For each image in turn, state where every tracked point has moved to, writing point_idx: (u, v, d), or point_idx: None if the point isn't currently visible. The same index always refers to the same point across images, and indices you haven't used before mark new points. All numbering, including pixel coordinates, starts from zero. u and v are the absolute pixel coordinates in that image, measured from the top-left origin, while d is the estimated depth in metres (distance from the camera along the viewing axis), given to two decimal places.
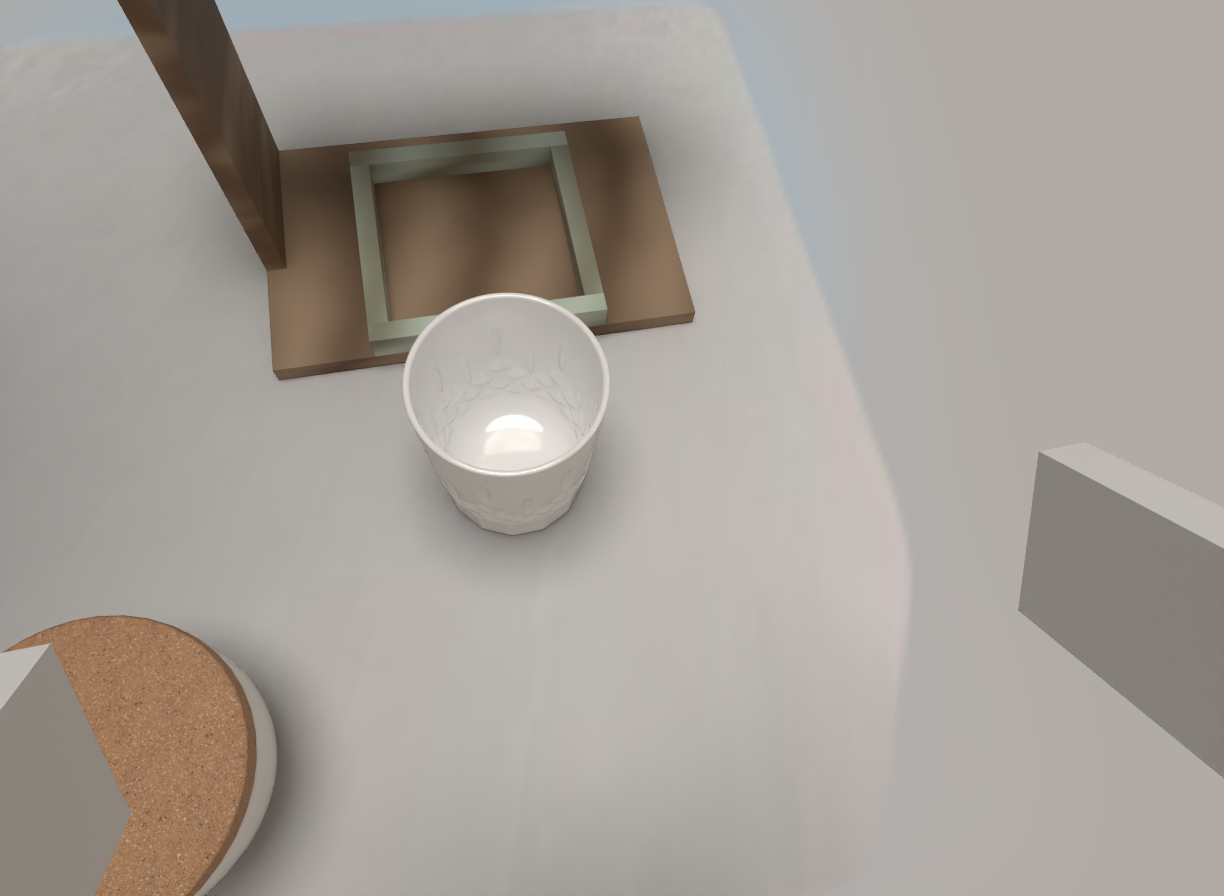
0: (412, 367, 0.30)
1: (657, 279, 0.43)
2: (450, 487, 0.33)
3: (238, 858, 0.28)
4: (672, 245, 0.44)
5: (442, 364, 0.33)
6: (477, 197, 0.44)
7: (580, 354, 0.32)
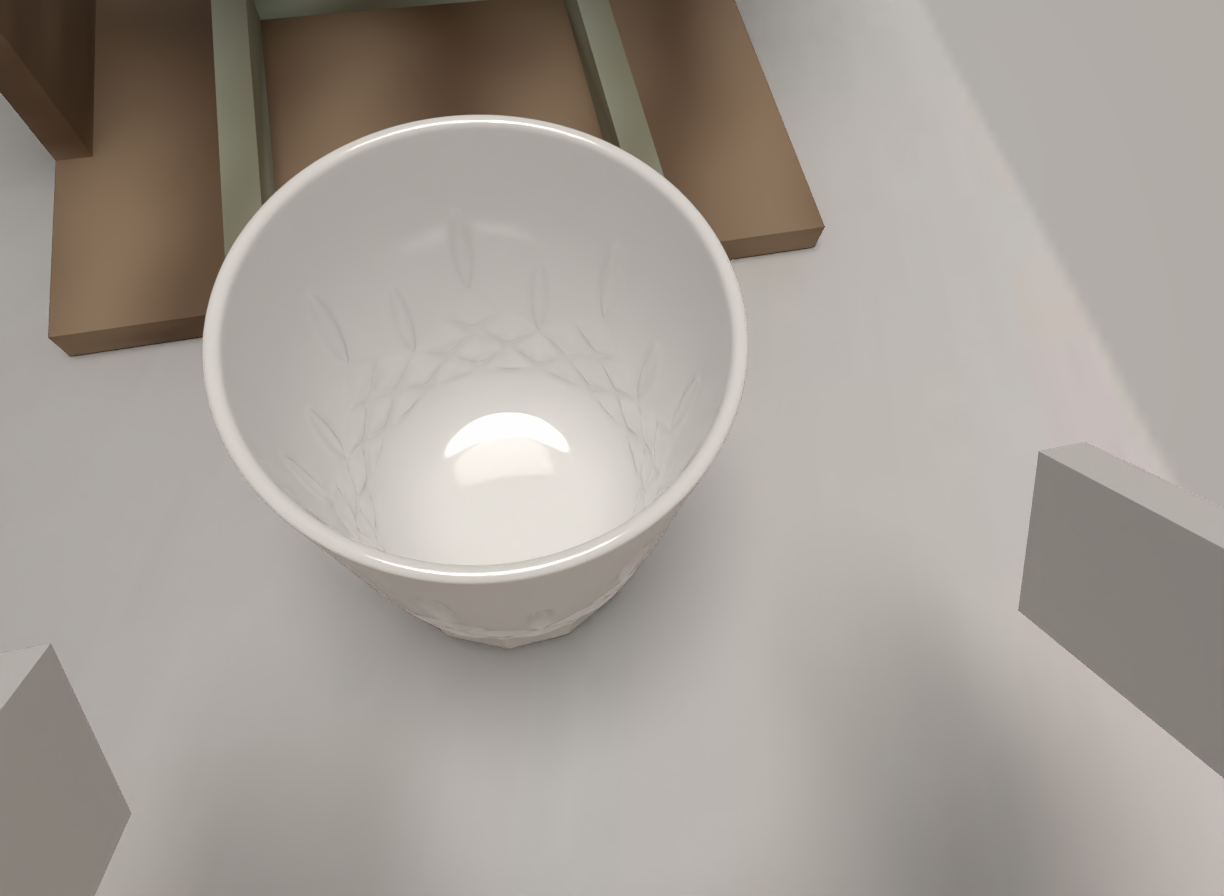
0: (237, 290, 0.11)
1: (754, 172, 0.24)
2: None
3: None
4: (775, 118, 0.25)
5: (339, 298, 0.14)
6: (439, 42, 0.25)
7: (656, 268, 0.14)
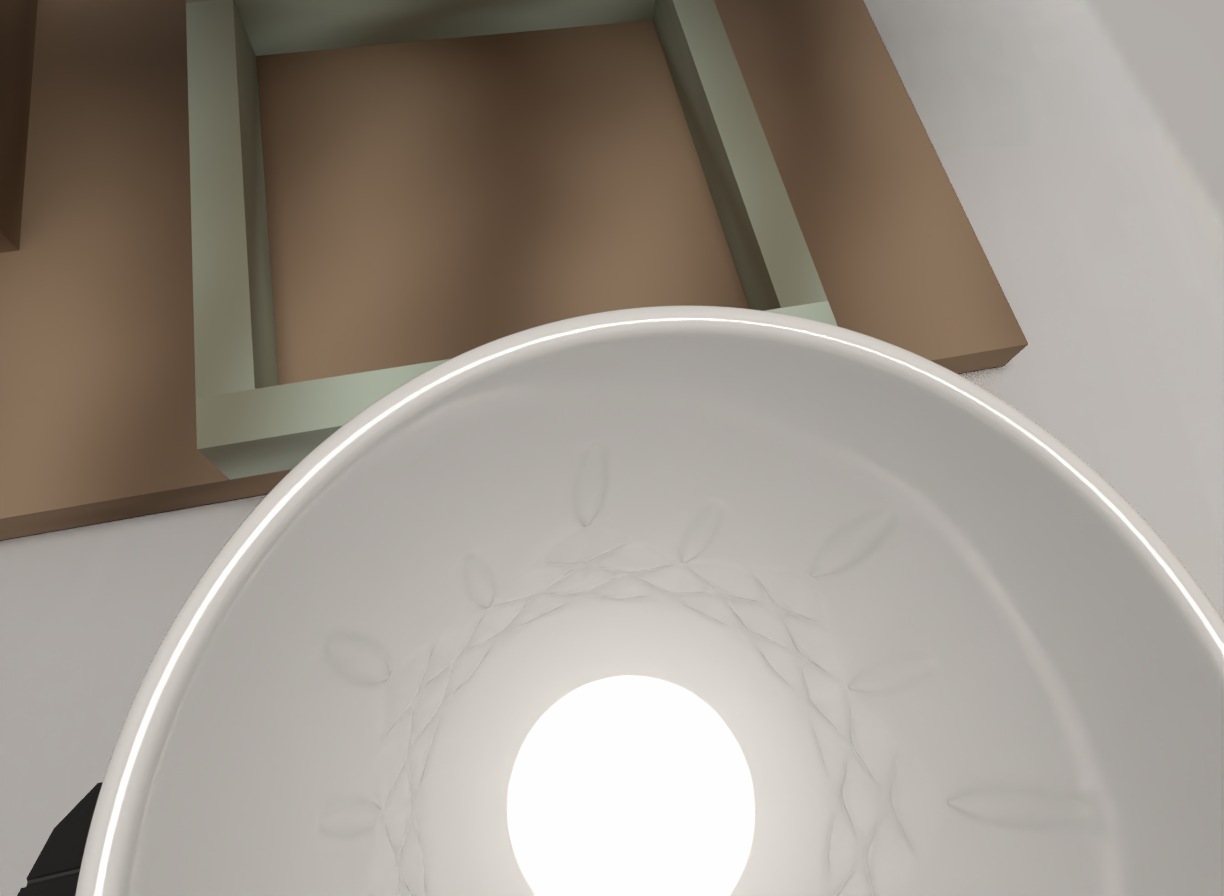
0: (164, 766, 0.05)
1: (925, 266, 0.18)
2: None
3: None
4: (945, 188, 0.19)
5: (380, 609, 0.08)
6: (494, 86, 0.19)
7: (980, 570, 0.07)
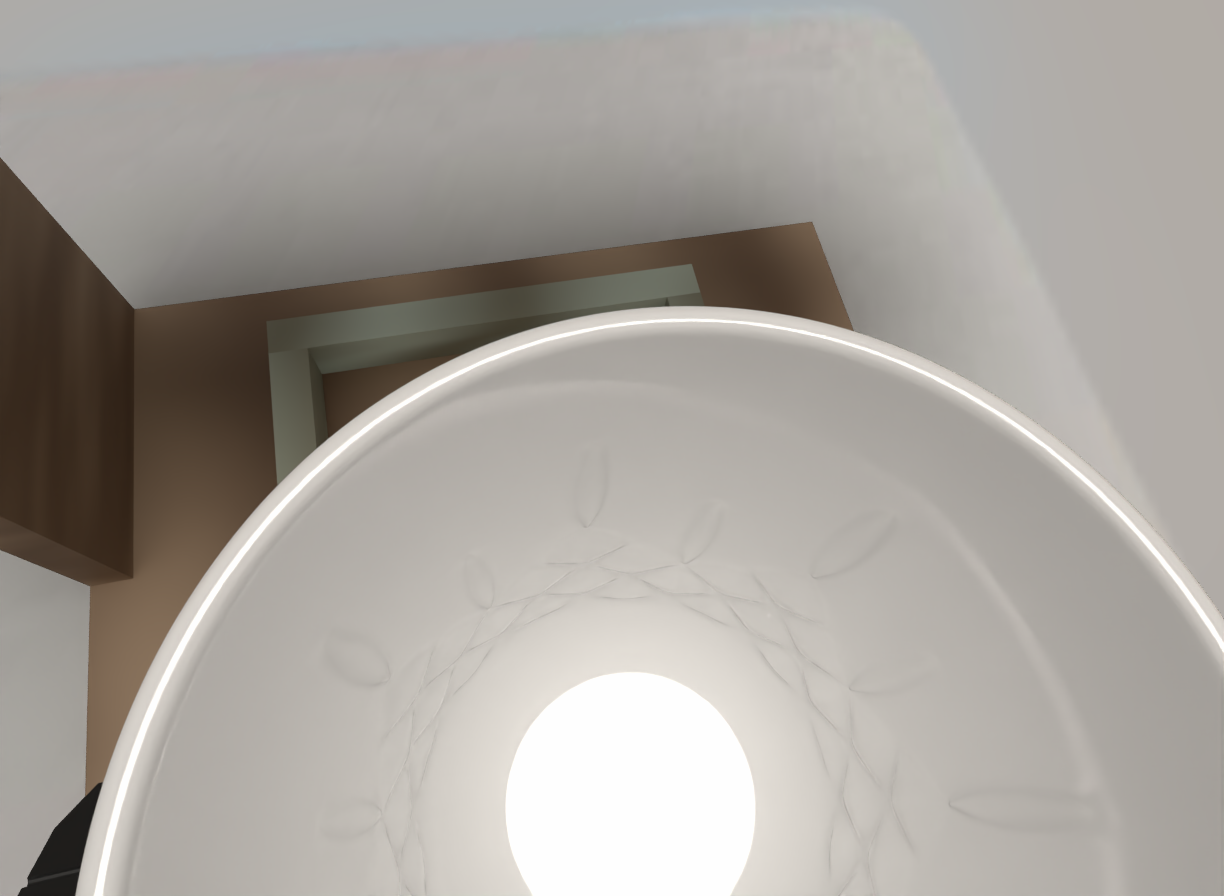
0: (163, 768, 0.05)
1: None
2: None
3: None
4: None
5: (381, 611, 0.08)
6: None
7: (981, 571, 0.07)
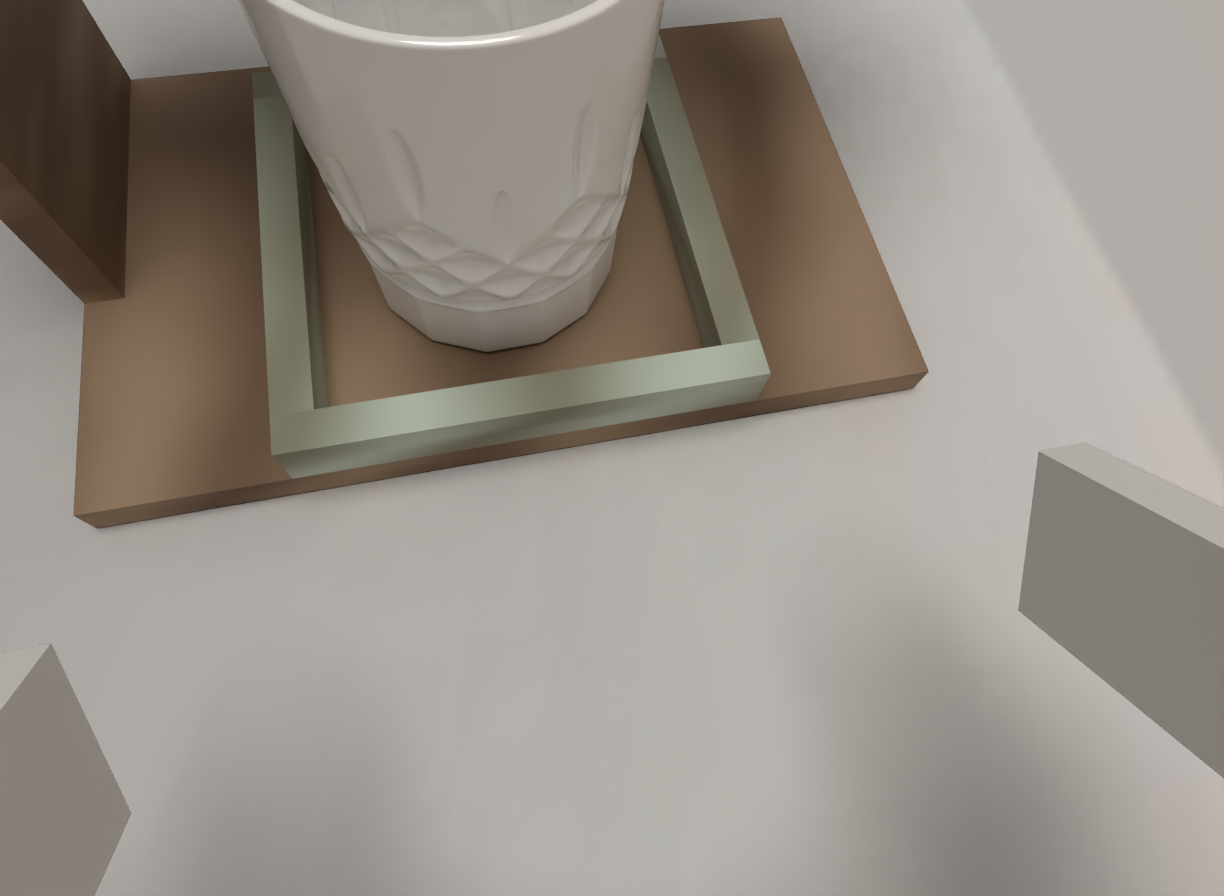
0: None
1: (848, 307, 0.22)
2: (346, 199, 0.16)
3: None
4: (868, 242, 0.23)
5: None
6: None
7: None
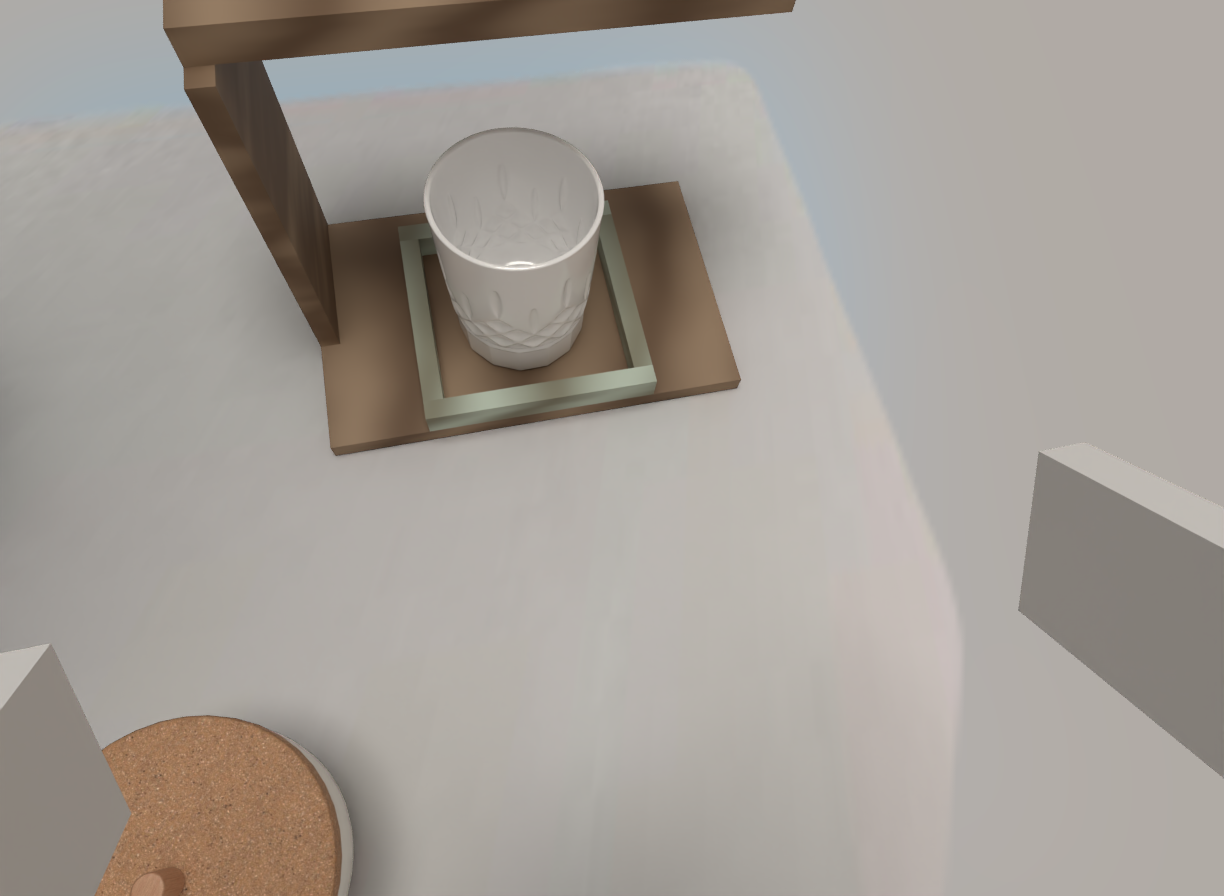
0: (431, 186, 0.34)
1: (702, 347, 0.43)
2: (465, 307, 0.37)
3: None
4: (716, 312, 0.44)
5: (456, 198, 0.37)
6: None
7: (578, 185, 0.36)
